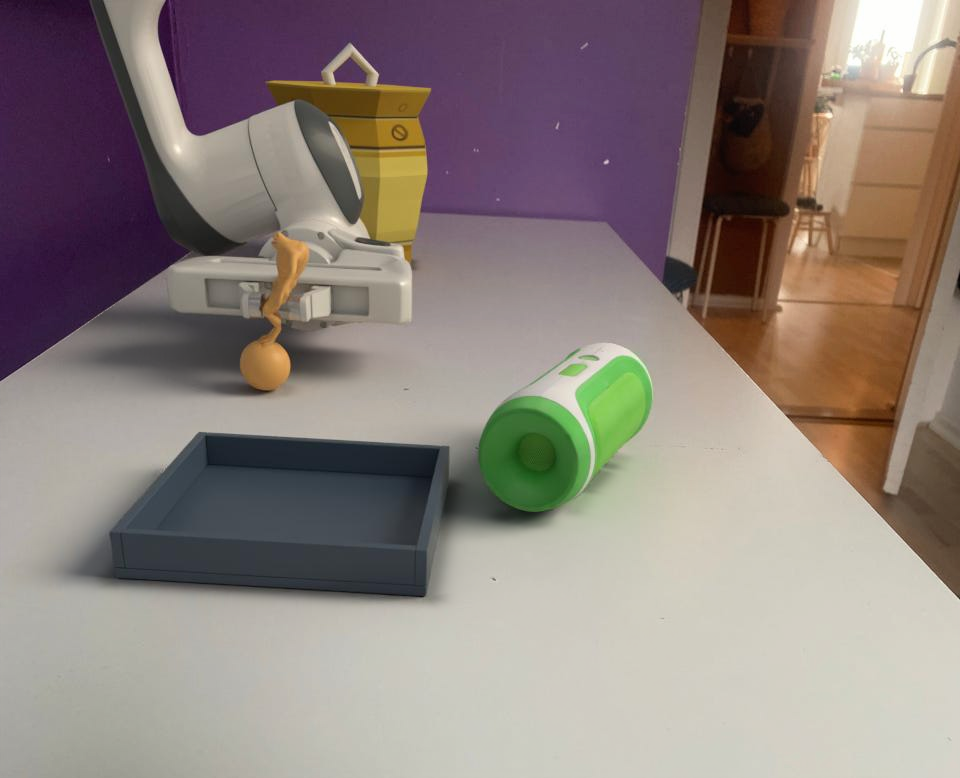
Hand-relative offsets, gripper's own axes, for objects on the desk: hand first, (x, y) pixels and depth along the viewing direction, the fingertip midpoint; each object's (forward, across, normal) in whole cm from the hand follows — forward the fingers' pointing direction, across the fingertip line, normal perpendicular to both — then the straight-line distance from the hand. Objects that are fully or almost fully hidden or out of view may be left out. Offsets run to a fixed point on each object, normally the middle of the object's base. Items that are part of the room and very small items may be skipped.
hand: (274, 309), depth 80 cm
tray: (+26, +7, +7) cm, 28 cm away
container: (-60, -3, +7) cm, 60 cm away
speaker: (+15, +23, +7) cm, 28 cm away
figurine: (-1, 0, +7) cm, 7 cm away
